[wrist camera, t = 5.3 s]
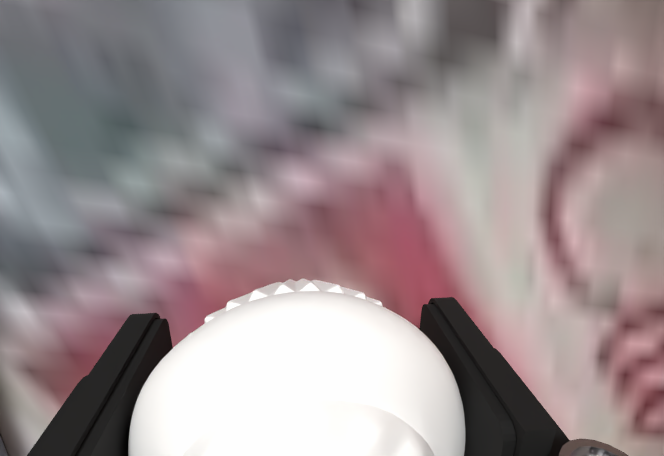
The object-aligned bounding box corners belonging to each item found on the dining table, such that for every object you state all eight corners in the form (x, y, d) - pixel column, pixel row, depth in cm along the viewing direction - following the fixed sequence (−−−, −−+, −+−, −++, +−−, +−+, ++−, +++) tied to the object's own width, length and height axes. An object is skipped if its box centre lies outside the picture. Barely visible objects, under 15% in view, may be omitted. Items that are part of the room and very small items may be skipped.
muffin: (144, 369, 10) (-103, 859, 4) (250, 179, 9) (139, 451, 2) (335, 439, 12) (392, 862, 5) (451, 290, 10) (723, 628, 4)
